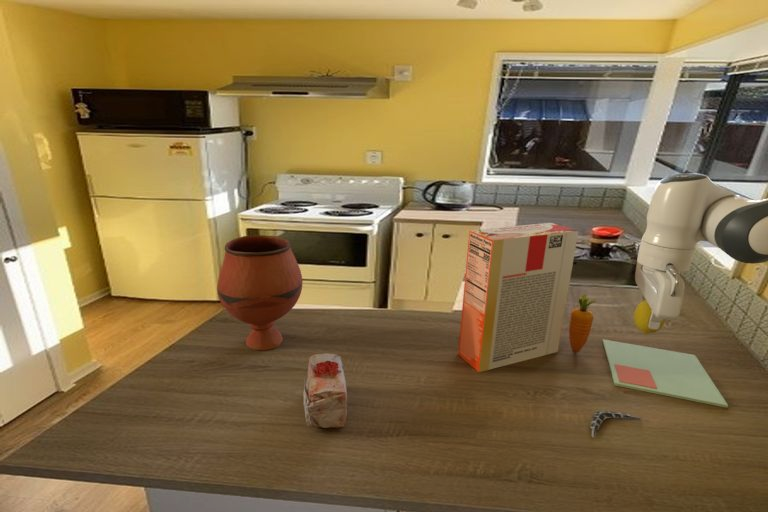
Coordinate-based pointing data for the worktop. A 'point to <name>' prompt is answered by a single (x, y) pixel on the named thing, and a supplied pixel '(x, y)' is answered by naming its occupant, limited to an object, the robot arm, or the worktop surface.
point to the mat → (661, 372)
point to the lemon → (644, 318)
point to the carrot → (580, 324)
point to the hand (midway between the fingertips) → (648, 320)
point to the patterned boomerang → (602, 415)
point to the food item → (325, 392)
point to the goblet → (259, 285)
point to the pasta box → (515, 293)
